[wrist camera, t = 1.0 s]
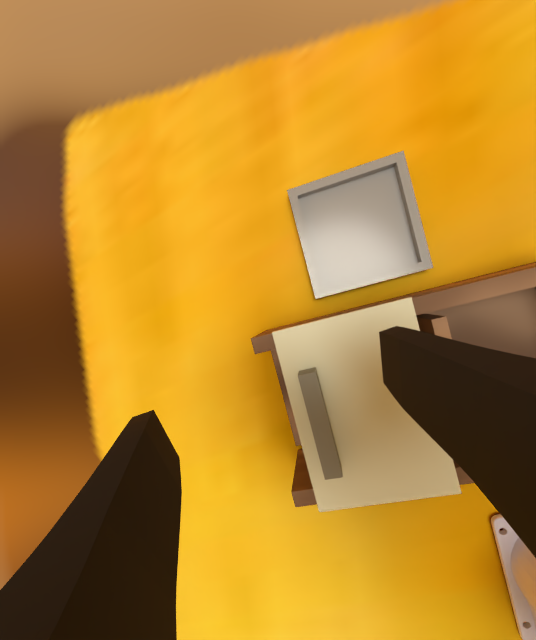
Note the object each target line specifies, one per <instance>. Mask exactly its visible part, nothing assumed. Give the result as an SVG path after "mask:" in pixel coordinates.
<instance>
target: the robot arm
mask: <svg viewBox="0 0 536 640" xmlns="http://www.w3.org/2000/svg"><path fill="white" fill-rule="evenodd" d="M379 338H380V350H381V362H382V374H383V383H384V384H385V386H386V387H387V389H388V390H389V391H390V393H391V394H392V395H393V397H394V398H395V399H396V401H397V402H398V403H399V404H400V406H401V407H402V408H403V409H404V410H405V411H406V412H407V413H408V414H409V416H410V417H411V418H412V419H413V420H414V421H415V422H416V423H417V424H418V425H419V426H420V427H421V428H422V429H423V430H424V431H425V432H426V433H427V434H428V435H429V436H430V437H431V438H432V439H433V440H434V441H435V442H436V443H437V444H438V445H439V446H440V447H441V448H442V449H443V450H444V451H445V452H446V453H447V454H448V455H449V456H450V457H451V458H452V459H453V460H454V461H455V462H456V463H457V464H458V465H459V466H460V467H461V468H462V469H463V471H464V472H465V473H466V474H467V475H468V476H469V477H470V478H471V479H472V480H473V481H474V483H475V484H476V485H477V486H478V487H479V489H480V490H481V491H482V492H483V493H484V495H485V496H486V497H487V498H488V499H489V501H490V502H491V503H492V504H493V505H494V507H495V508H496V509H497V510H498V512H499V513H500V514H498V515H494V516H493V517H492V518H491V524H492V528H493V532H494V536H495V540H496V544H497V548H498V552H499V556H500V560H501V563H502V567H503V571H504V575H505V579H506V583H507V587H508V591H509V595H510V599H511V603H512V607H513V611H514V615H515V619H516V623H517V626H518V630H519V634H520V636H521V638H522V639H523V640H536V358H532V357H527V356H522V355H517V354H512V353H508V352H503V351H498V350H493V349H489V348H485V347H481V346H476V345H472V344H468V343H464V342H460V341H456V340H453V339H449V338H445V337H441V336H437V335H433V334H430V333H426V332H422V331H418V330H414V329H410V328H405V327H400V326H395V327H392V328H389V329H386V330H383V331H380V332H379ZM181 494H182V491H181V473H180V460H179V456H178V454H177V453H176V451H175V449H174V447H173V445H172V443H171V441H170V440H169V438H168V436H167V434H166V432H165V430H164V428H163V427H162V425H161V423H160V421H159V419H158V417H157V415H156V414H155V412H154V410H152V411H149V412H146V413H143V414H140V415H138V416H135V417H132V419H131V420H130V421H129V423H128V424H127V425H126V427H125V428H124V430H123V431H122V432H121V434H120V435H119V437H118V438H117V440H116V441H115V443H114V444H113V445H112V447H111V448H110V450H109V451H108V453H107V454H106V456H105V457H104V459H103V460H102V461H101V463H100V464H99V466H98V467H97V468H96V470H95V471H94V473H93V474H92V476H91V477H90V478H89V480H88V481H87V483H86V484H85V486H84V487H83V488H82V490H81V491H80V492H79V493H78V495H77V496H76V497H75V499H74V500H73V501H72V503H71V504H70V505H69V507H68V508H67V509H66V511H65V512H64V513H63V515H62V516H61V517H60V519H59V520H58V521H57V523H56V524H55V525H54V527H53V528H52V529H51V531H50V532H49V533H48V534H47V536H46V537H45V538H44V539H43V541H42V542H41V543H40V544H39V546H38V547H37V548H36V549H35V550H34V552H33V553H32V554H31V555H30V557H29V558H28V559H27V560H26V561H25V562H24V563H23V565H22V566H21V567H20V568H19V569H18V570H17V572H16V573H15V574H14V575H13V577H11V579H10V580H9V581H8V582H7V583H6V585H5V586H4V587H3V588H2V589H1V590H0V640H177V638H176V581H177V565H178V548H179V532H180V514H181ZM501 528H504V529H503V530H502V531H499V530H500V529H501ZM524 622H525V623H524Z"/></svg>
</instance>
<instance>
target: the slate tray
mask: <svg viewBox="0 0 536 640" xmlns="http://www.w3.org/2000/svg"><path fill="white" fill-rule="evenodd" d="M287 191H288V195H289V199H290V203H291V207H292V211H293V214H294V218H295V222H296V226H297V230H298V234H299V237H300V241H301V245H302V249H303V253H304V257H305V260H306V264H307V268H308V272H309V276H310V280H311V283H312V287H313V291H314V295H315V299H318V298H322V297H326V296H329V295H333V294H337V293H341V292H344V291H348V290H352V289H356V288H360V287H363V286H367V285H371V284H375V283H378V282H382V281H386V280H390V279H393V278H397V277H401V276H405V275H408V274H412V273H416V272H420V271H423V270H427V269H431V268H433V265H432V261H431V257H430V253H429V249H428V246H427V242H426V238H425V234H424V230H423V226H422V222H421V218H420V214H419V210H418V206H417V202H416V198H415V194H414V190H413V186H412V182H411V179H410V175H409V171H408V167H407V163H406V159H405V155H404V151H401V152H398V153H395V154H392V155H389V156H386V157H384V158H381V159H378V160H375V161H372V162H369V163H366V164H363V165H360V166H357V167H354V168H351V169H348V170H345V171H342V172H339V173H337V174H334V175H331V176H328V177H325V178H322V179H319V180H316V181H313V182H310V183H307V184H304V185H301V186H298V187H295V188H292V189H290V190H287Z"/></svg>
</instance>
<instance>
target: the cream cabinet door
mask: <svg viewBox="0 0 536 640" xmlns="http://www.w3.org/2000/svg"><path fill="white" fill-rule="evenodd" d="M395 326H400V327H405V328H410V329H414V330H418V331H420V329H419V325H418V321H417V317H416V313H415V309H414V305H413V301H412V297H408V298H404V299H400V300H396V301H392V302H388V303H384V304H380V305H376V306H372V307H368V308H364V309H360V310H356V311H352V312H348V313H344V314H340V315H336V316H332V317H328V318H324V319H320V320H317V321H313V322H309V323H305V324H301V325H297V326H293V327H289V328H285V329H281V330H277V331H273V332H272V335H273V339H274V342H275V346H276V350H277V354H278V358H279V361H280V365H281V369H282V373H283V377H284V380H285V384H286V388H287V392H288V396H289V399H290V403H291V407H292V411H293V415H294V418H295V422H296V426H297V430H298V434H299V437H300V441H301V445H302V449H303V453H304V456H305V460H306V464H307V468H308V471H309V475H310V479H311V483H312V487H313V490H314V494H315V498H316V502H317V506H318V509H319V512H324V511H332V510H340V509H347V508H355V507H363V506H370V505H378V504H385V503H393V502H401V501H408V500H416V499H424V498H431V497H439V496H447V495H454V494H462V493H461V489H460V485H459V481H458V477H457V473H456V470H455V466H454V462H453V459H452V458H451V457H450V456H449V455H448V454H447V453H446V452H445V451H444V450H443V449H442V448H441V447H440V446H439V445H438V444H437V443H436V442H435V441H434V440H433V439H432V438H431V437H430V436H429V435H428V434H427V433H426V432H425V431H424V430H423V429H422V428H421V427H420V426H419V425H418V424H417V423H416V422H415V421H414V420H413V419H412V418H411V417H410V416H409V414H408V413H407V412H406V411H405V410H404V409H403V408H402V407H401V406H400V404H399V403H398V402H397V401H396V399H395V398H394V397H393V395H392V394H391V393H390V391H389V390H388V389H387V387H386V386H385V384H384V383H383V374H382V362H381V350H380V338H379V332H380V331H383V330H386V329H389V328H392V327H395Z"/></svg>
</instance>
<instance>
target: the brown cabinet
mask: <svg viewBox="0 0 536 640" xmlns="http://www.w3.org/2000/svg"><path fill="white" fill-rule="evenodd" d="M408 297H412V301H413V305H414V309H415V313H416V317H417V321H418V325H419V329H420V331H422V332H426V333H430V334H433V335H437V336H441V337H445V338H449V339H453V340H456V341H460V342H464V343H468V344H472V345H476V346H481V347H485V348H489V349H493V350H498V351H503V352H508V353H512V354H517V355H522V356H527V357H532V358H536V262H533V263H529V264H526V265H522V266H518V267H514V268H510V269H506V270H502V271H498V272H494V273H490V274H486V275H482V276H478V277H474V278H470V279H466V280H463V281H459V282H455V283H451V284H447V285H443V286H439V287H435V288H431V289H427V290H423V291H419V292H415V293H411V294H407V295H403V296H400V297H396V298H392V299H388V300H384V301H380V302H376V303H372V304H368V305H364V306H360V307H356V308H352V309H348V310H344V311H340V312H337V313H333V314H329V315H325V316H321V317H317V318H313V319H309V320H305V321H301V322H297V323H293V324H289V325H285V326H281V327H277V328H274V329H270V330H266V331H264V332H262V333H260V334H259V335H257V336H255V337H253V338H251V341H252V345H253V348H254V352H255V354H257V353H261V352H266V351H270V350H271V352H272V356H273V360H274V364H275V367H276V371H277V375H278V379H279V383H280V386H281V390H282V394H283V398H284V402H285V405H286V409H287V413H288V417H289V421H290V424H291V428H292V432H293V436H294V439H295V443H296V446H298V445H301V441H300V437H299V434H298V430H297V426H296V422H295V418H294V415H293V411H292V407H291V403H290V399H289V396H288V392H287V388H286V384H285V380H284V377H283V373H282V369H281V365H280V361H279V358H278V354H277V350H276V346H275V342H274V339H273V335H272V332H273V331H277V330H281V329H285V328H289V327H293V326H297V325H301V324H305V323H309V322H313V321H317V320H320V319H324V318H328V317H332V316H336V315H340V314H344V313H348V312H352V311H356V310H360V309H364V308H368V307H372V306H376V305H380V304H384V303H388V302H392V301H396V300H400V299H404V298H408ZM453 462H454V466H455V470H456V473H457V477H458V481H459V485H462V484H469V483H474V481H473V480H472V479H471V478H470V477H469V476H468V475H467V474H466V473H465V472H464V471H463V469H462V468H461V467H460V466H459V465H458V464H457V463H456V462H455V461H454V460H453ZM292 496H293V500H294V503H295V507H300V506H307V505H315V504H317V502H316V498H315V494H314V490H313V487H312V483H311V479H310V475H309V471H308V468H307V464H306V460H305V456H304V453H303V449H301V450H298V453H297V460H296V466H295V473H294V479H293V485H292Z"/></svg>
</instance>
